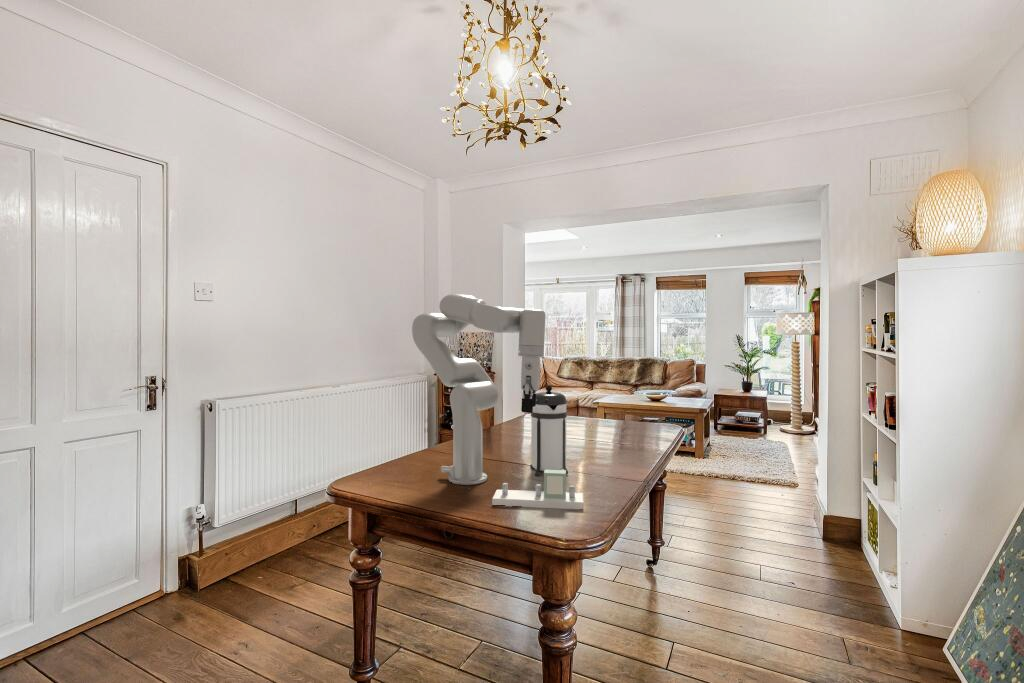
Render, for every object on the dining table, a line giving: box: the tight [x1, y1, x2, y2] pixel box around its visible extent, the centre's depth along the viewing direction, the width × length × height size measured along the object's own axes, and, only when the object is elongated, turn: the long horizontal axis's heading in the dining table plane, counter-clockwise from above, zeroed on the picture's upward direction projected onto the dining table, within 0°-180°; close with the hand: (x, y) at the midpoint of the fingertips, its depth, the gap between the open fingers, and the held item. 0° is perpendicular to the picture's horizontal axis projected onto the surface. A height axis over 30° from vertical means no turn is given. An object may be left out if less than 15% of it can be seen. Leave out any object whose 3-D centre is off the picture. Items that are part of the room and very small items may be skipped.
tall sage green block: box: [543, 469, 567, 499], centre depth 141 cm, size 6×4×7 cm, turn 83°
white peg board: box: [491, 482, 584, 510], centre depth 141 cm, size 25×8×5 cm, turn 83°
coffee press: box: [529, 384, 569, 477], centre depth 174 cm, size 17×16×30 cm
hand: (528, 409), depth 147 cm, fingers open, 9 cm apart
